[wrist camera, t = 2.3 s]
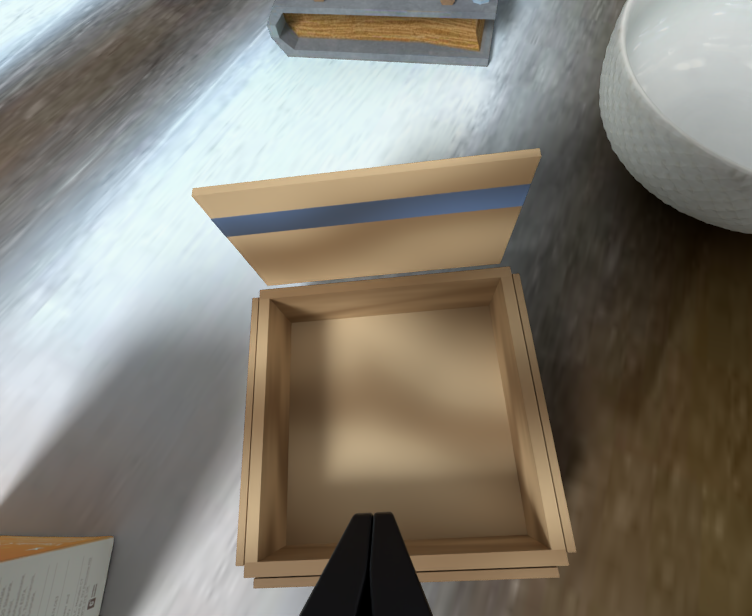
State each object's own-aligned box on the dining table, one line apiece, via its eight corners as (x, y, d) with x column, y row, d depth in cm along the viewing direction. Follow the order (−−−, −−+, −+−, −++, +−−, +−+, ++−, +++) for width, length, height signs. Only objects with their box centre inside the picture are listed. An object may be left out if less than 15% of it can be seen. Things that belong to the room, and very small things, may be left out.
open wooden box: (548, 554, 18) (581, 576, 14) (270, 565, 19) (234, 589, 15) (501, 298, 23) (517, 265, 19) (279, 318, 24) (253, 290, 20)
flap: (541, 156, 12) (539, 147, 12) (191, 196, 13) (192, 187, 13) (500, 264, 19) (498, 257, 19) (267, 285, 20) (268, 279, 20)
